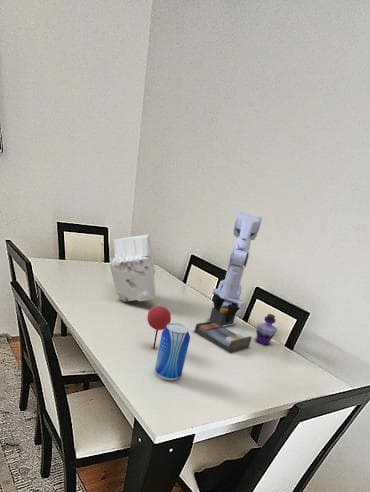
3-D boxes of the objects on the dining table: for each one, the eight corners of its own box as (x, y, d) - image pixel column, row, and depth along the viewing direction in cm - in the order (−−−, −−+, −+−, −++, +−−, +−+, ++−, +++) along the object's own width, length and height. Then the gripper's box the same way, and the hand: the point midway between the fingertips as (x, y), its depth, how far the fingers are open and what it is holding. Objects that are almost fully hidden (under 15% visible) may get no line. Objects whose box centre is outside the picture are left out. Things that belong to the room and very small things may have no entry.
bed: (213, 327, 161) (216, 317, 158) (248, 347, 151) (252, 337, 149) (194, 331, 153) (196, 321, 150) (229, 352, 143) (233, 342, 141)
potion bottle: (255, 335, 163) (264, 309, 157) (274, 342, 161) (284, 316, 155) (249, 341, 156) (258, 314, 150) (269, 349, 154) (279, 321, 148)
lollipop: (167, 347, 135) (175, 307, 127) (159, 355, 129) (167, 313, 121) (147, 341, 136) (154, 300, 129) (139, 348, 130) (145, 306, 122)
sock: (221, 319, 150) (224, 307, 147) (227, 322, 148) (230, 310, 145) (215, 320, 148) (218, 307, 145) (221, 323, 146) (225, 311, 143)
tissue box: (156, 305, 160) (145, 242, 147) (119, 310, 162) (104, 248, 148) (159, 291, 178) (149, 234, 164) (125, 296, 179) (113, 239, 165)
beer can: (153, 366, 122) (162, 319, 113) (179, 370, 123) (190, 324, 115) (154, 380, 115) (164, 331, 106) (181, 383, 116) (193, 335, 108)
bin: (222, 318, 152) (225, 306, 150) (232, 323, 149) (236, 311, 147) (209, 320, 147) (212, 308, 144) (219, 326, 144) (223, 313, 141)
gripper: (210, 277, 141) (201, 312, 149) (240, 291, 134) (229, 327, 141) (222, 276, 146) (213, 310, 153) (251, 290, 139) (241, 325, 146)
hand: (222, 318), depth 147 cm, fingers closed on bin, 5 cm apart
